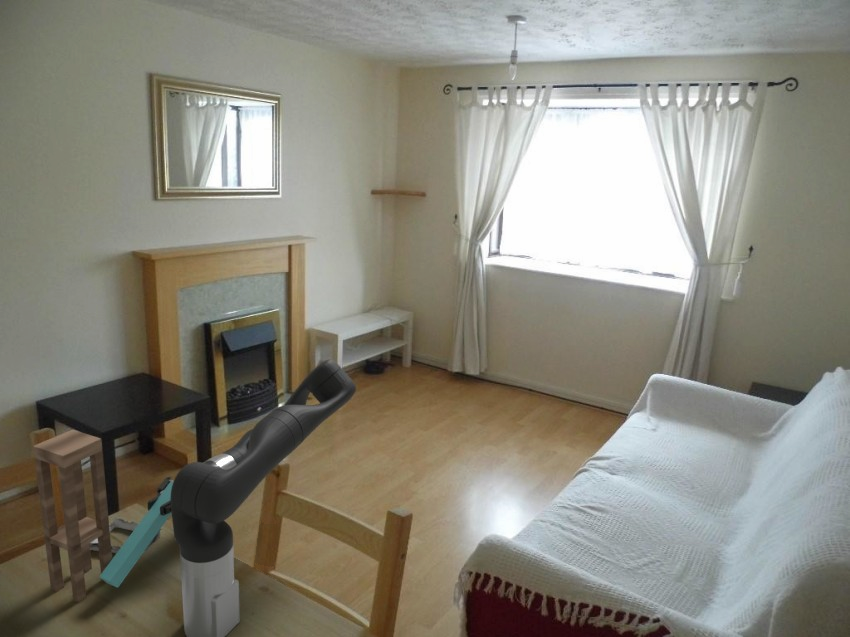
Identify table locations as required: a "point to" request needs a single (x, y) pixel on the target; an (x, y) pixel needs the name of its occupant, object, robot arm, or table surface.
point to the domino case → (137, 542)
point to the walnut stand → (73, 507)
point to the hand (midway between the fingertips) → (155, 509)
